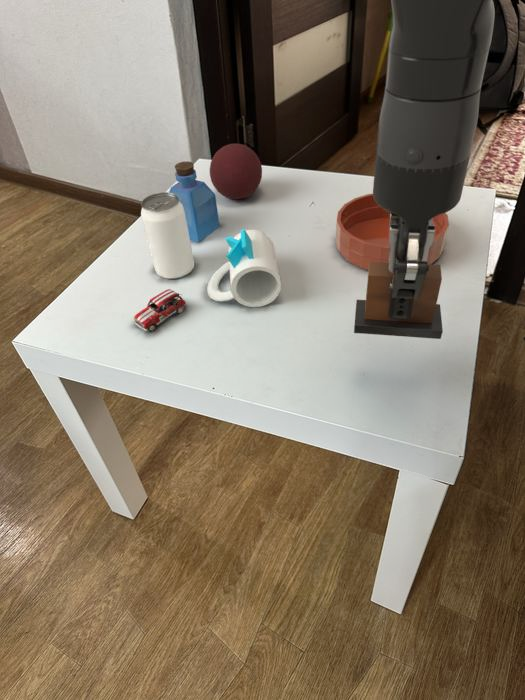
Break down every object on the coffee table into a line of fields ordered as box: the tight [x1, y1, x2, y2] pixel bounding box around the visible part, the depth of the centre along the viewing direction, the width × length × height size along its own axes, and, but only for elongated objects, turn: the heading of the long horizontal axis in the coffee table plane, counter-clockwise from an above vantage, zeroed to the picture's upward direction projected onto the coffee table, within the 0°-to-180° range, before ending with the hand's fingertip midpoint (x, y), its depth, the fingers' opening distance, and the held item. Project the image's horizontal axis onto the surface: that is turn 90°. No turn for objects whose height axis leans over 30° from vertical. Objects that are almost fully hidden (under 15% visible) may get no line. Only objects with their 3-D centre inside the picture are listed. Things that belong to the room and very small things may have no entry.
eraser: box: [353, 262, 444, 340], centre depth 52 cm, size 9×4×7 cm, turn 79°
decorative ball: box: [209, 143, 263, 200], centre depth 94 cm, size 10×10×10 cm
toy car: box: [133, 288, 187, 333], centre depth 71 cm, size 4×8×3 cm, turn 136°
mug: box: [206, 228, 282, 308], centre depth 75 cm, size 12×9×12 cm
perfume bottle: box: [168, 160, 221, 243], centre depth 85 cm, size 6×6×12 cm
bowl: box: [335, 193, 450, 271], centre depth 80 cm, size 17×17×5 cm
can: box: [140, 191, 195, 280], centre depth 77 cm, size 6×6×12 cm
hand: (398, 307), depth 53 cm, fingers closed on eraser, 2 cm apart
